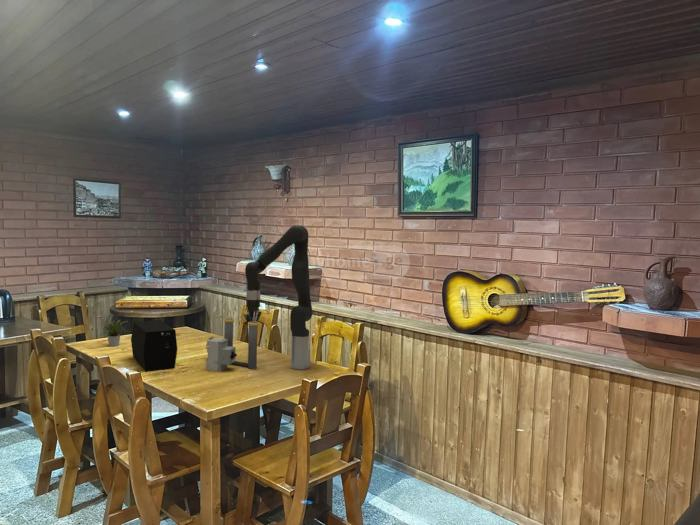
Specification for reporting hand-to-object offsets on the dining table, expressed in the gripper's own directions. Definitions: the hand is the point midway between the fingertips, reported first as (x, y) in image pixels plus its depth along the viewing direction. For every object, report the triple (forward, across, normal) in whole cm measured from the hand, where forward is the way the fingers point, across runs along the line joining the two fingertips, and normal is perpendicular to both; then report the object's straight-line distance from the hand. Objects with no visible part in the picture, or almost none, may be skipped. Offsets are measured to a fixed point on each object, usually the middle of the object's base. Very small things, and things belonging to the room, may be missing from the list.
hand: (252, 329), depth 272 cm
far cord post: (+18, -10, +8) cm, 22 cm away
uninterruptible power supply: (+18, -32, +40) cm, 54 cm away
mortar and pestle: (+18, -8, +19) cm, 27 cm away
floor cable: (+18, -10, 0) cm, 20 cm away
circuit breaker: (+18, -21, +3) cm, 27 cm away
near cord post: (+18, -10, -8) cm, 22 cm away
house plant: (+18, -15, +90) cm, 93 cm away
